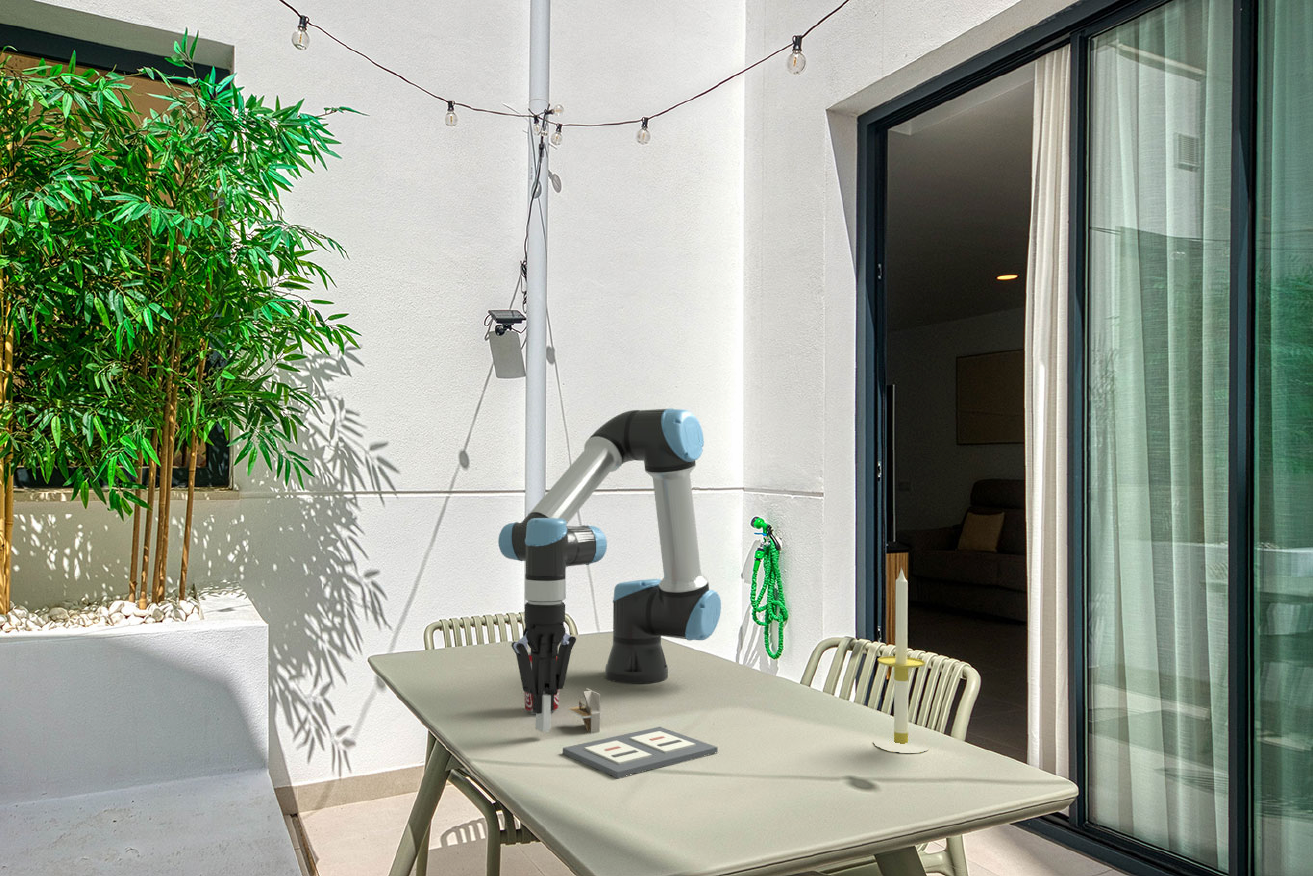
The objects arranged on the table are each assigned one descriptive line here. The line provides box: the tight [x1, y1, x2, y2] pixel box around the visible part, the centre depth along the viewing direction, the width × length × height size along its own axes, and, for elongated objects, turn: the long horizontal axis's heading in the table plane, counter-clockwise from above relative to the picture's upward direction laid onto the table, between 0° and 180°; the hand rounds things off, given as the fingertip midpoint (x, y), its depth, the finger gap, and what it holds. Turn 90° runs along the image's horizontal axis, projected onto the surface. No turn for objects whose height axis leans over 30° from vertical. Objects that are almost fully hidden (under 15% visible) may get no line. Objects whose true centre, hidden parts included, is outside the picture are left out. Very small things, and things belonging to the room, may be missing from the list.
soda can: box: [524, 650, 560, 715], centre depth 186 cm, size 7×7×12 cm
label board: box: [562, 726, 719, 779], centre depth 159 cm, size 22×16×1 cm
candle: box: [877, 566, 926, 744], centre depth 166 cm, size 10×10×32 cm
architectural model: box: [567, 687, 601, 734], centre depth 174 cm, size 3×7×7 cm, turn 31°
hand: (542, 729), depth 167 cm, fingers closed
